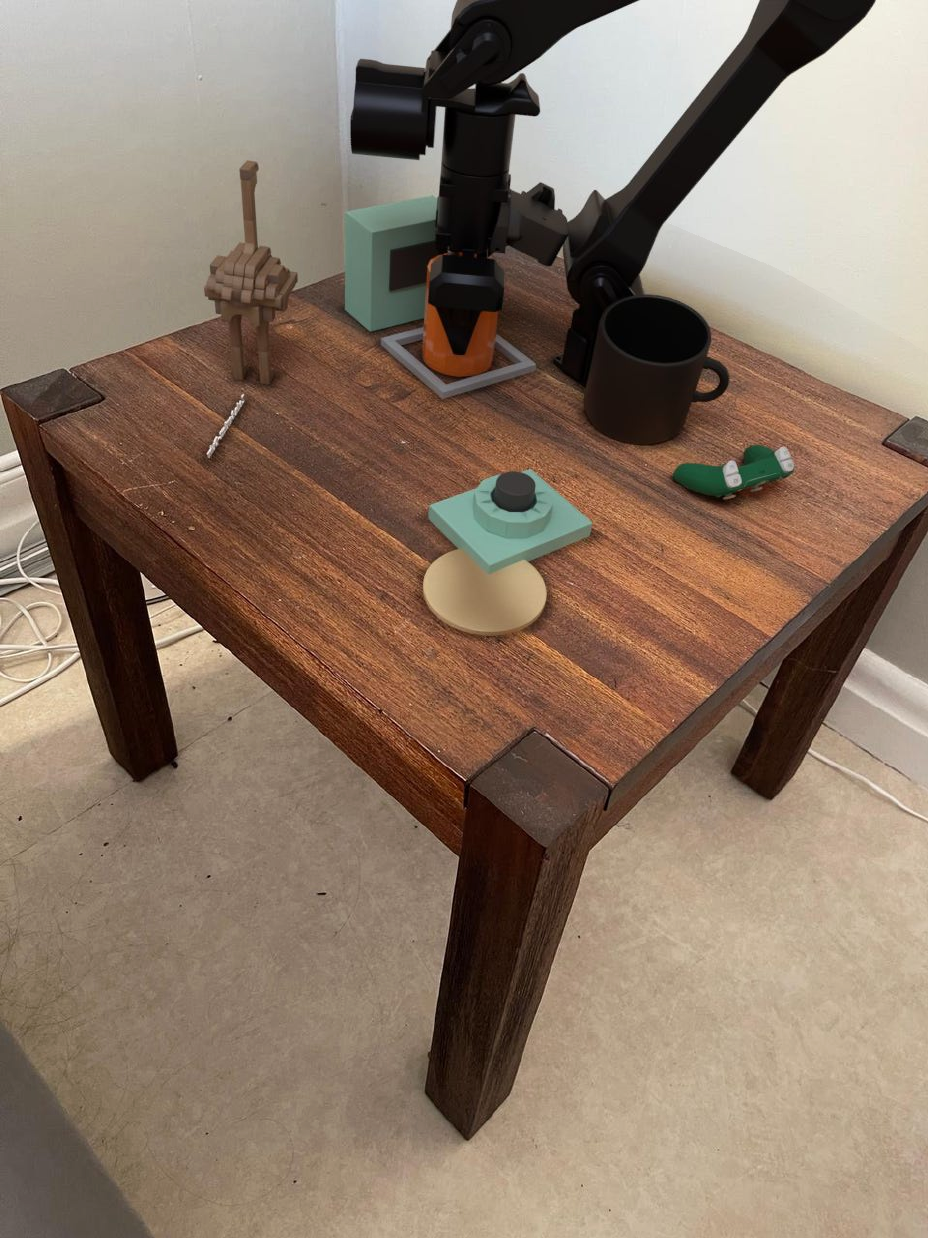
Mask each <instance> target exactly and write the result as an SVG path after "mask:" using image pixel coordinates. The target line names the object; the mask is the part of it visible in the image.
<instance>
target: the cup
mask: <svg viewBox="0 0 928 1238" xmlns="http://www.w3.org/2000/svg"><path fill="white" fill-rule="evenodd" d="M441 255H448V253H446V254H441ZM441 255H438V256H436V257H435V258H433V259H431V260H430V262H429V264H428V266H427V281H426V297H425V313H424V318H423V327H424V329H423V340H422V344H421V345H422V346H421V347H422V348H421V351H422V360H423V362H424V363H425V366H427V367H428V368H430V369H431V370H433V371H435V372H437V373H439V374H442V375H445V376H450V377H455V378H456V377H457V378H462V377H473V376H477V375H480V374H483V373H486V372H487V371H488V370H489V369H490V368H491V367H492V366H493V363H494V362H493V361H494V356H495V350H496V349H495V342H496V334H498V333H497V332H498V324H499V317H500V311H497V312H487V311H482V312H481V313H480V316H479V318H478V321H477V323H476V326H475V329H474V331H473V334H472V337H471V340H470V342H469V345H468V348H467V351H466V353H465V355H455V354H453V352H452V349H451V347H450V344H449V341H448V339H447V336H446V333H445V331H444V328H443V325H442V323H441V320H440V318H439V315H438V313H437V310H436V308H435V307H434V306H432V305H431V304H429V303H428V295H429V280H430V270H431V264H432V263H433V262H434V261H435V260H436V259H438V258H439V257H440V256H441ZM459 256H462V253H461V252H459ZM474 257H475V258H476V254H474ZM488 259H491V258H490V257H488Z"/></svg>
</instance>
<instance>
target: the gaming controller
mask: <svg viewBox="0 0 928 1238" xmlns="http://www.w3.org/2000/svg"><path fill="white" fill-rule="evenodd" d="M742 461H743V464H744V465H741V466H738V465H737V462H736V461H735V460H733V459H731V460H728V461H727V462H726V463H724V464H722V465H711V464H704V463H698V462H684V463H680V464H679V465H678V466H676V468H675V469H674V471H673V473H672V476H671V477H672V478H673V479H674V480H675V481H676V483H678V484H680V485H681V486H683V487H684V488H687V489H688V490H690V491H693V492H695V493H699V494H702V495H706V496H711V497H713V496H715V497H716V498H720V497H722V500H724V501H725V500H729V499H733V498H736V494H735V493H736V492H739V491H743V490H746V489H749V491H750V493H754V492H757V491H761V490H762V489H763V486H762V485H764V484H767V483H773V482H776V481H779V480H784V479H787V478H788V477H789V476H791V475H792V474H794V472H795V463H794V460H793V459H792V455H791V453H790V452H789V449H788V448H787V447H786V446H784V445H783V446H780V448H779V449H775V450H774V449H772V448H770V447H768V446H765V445H761V444H753V445H749V446H748V447H746V448H745V449H744V451H743V453H742ZM750 488H751V489H750Z"/></svg>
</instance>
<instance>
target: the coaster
mask: <svg viewBox="0 0 928 1238" xmlns="http://www.w3.org/2000/svg"><path fill="white" fill-rule="evenodd" d="M545 583H546V582H545V580H544V579H543V576H542V575H541V573H540V572H539V571H538V570H537V569H536V568H535V566H533V565H532V564H531V563H530V561H528V562H527V561H526V560H522V561H519V562H517V563H514V564H512V565H509V566H507V567H505V568H502V569H500V570H497V571H495V572H493V573H490V574H487V573H486V572H485V571H484V570H483V569H482V568H481V567H480V565H479V564H478V563H477V562H476V561H475V560H474V559H473V558H472V557H471V556H470V555H469V554H468V553H467V552H466V551H465V550H464V549H463V548H461V549H458V548H456V549H453V550H450V551H449V552H446V553H443V555H440V556H439V557H437V559H435V560H434V561H433V562H432V563H431V564H430V565H429V567H427V570H426V571H425V574H424V577H423V581H422V593H423V598H424V601H425V603H426V605H427V606H428V609H430V611H431V612H432V613H433V614H434V615H435V617H436V618H438V619H439V620H440V621H442V622H443V623H445V624H446V625H448V626H449V627H452V628H453V629H456V630H458V631H462V632H464V633H467V634H472V635H477V636H487V637H488V636H489V637H492V636H493V637H495V636H503V635H504V636H505V635H510V634H513V633H517V632H519V631H522V630H523V629H526V628H527V627H529V626H531V625H532V624H534V623H535V622H536V620H538V619H539V618H540V616H541V615H542V613H543V612H544V610H545V607H546V603H547V595H548V593H547V586H546V584H545Z"/></svg>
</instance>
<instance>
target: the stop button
mask: <svg viewBox="0 0 928 1238" xmlns="http://www.w3.org/2000/svg"><path fill="white" fill-rule="evenodd" d="M522 472H523V471H516V470H514V471H513V470H511V471H505V472H503V473H500V474H501V475H500V474H499V476H498V478H497V480H496V486H495V493H494V502H495V504H496V505H497V506H498V507H499V508H500V509H502V510H505V511H508V512H525V511H527V510H529V509H530V508H531V506H532V504H533V499H534V493H535V487H536V484H535V481H534V480H533V479H532V478H531V477H530V476H529V475H527V474H525V473H522Z"/></svg>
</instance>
